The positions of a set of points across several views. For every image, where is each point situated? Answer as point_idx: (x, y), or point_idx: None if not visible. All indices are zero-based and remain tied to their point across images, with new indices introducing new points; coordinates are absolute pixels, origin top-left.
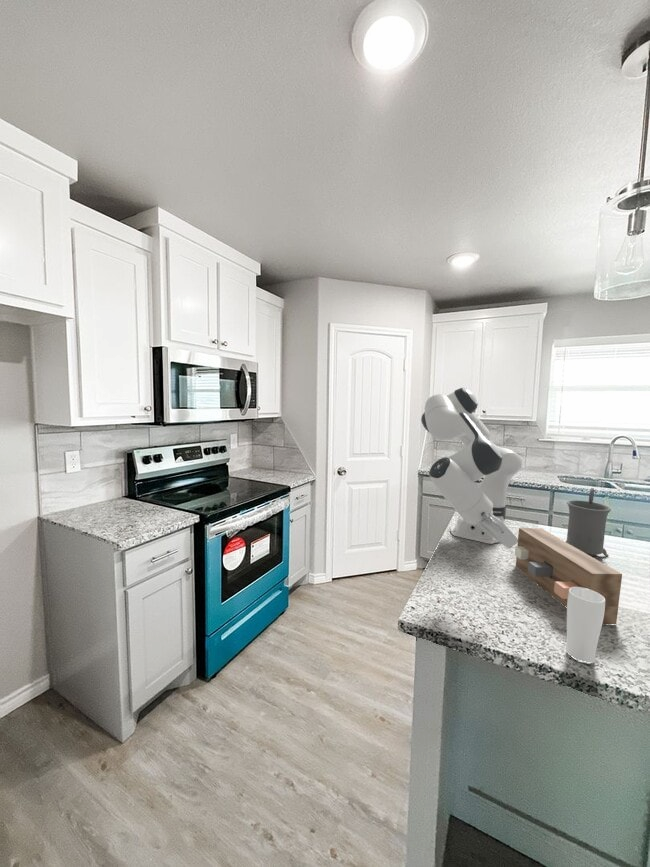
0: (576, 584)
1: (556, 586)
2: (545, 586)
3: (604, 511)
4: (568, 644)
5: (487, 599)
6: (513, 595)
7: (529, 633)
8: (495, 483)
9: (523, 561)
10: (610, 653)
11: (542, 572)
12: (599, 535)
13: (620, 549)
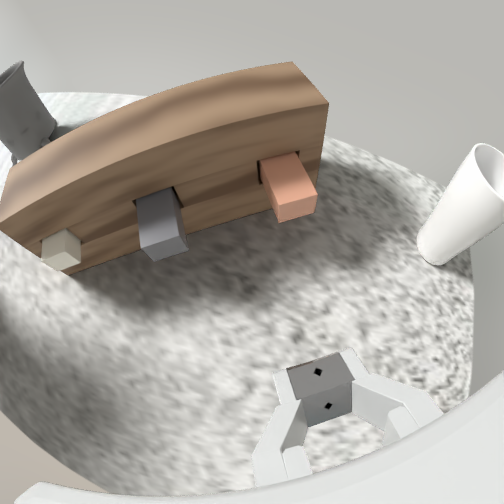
0: (275, 158)
1: (287, 209)
2: None
3: (22, 65)
4: (451, 257)
5: (274, 405)
6: (225, 327)
7: (402, 323)
8: None
9: None
10: (393, 193)
11: (180, 223)
12: (39, 101)
13: None
